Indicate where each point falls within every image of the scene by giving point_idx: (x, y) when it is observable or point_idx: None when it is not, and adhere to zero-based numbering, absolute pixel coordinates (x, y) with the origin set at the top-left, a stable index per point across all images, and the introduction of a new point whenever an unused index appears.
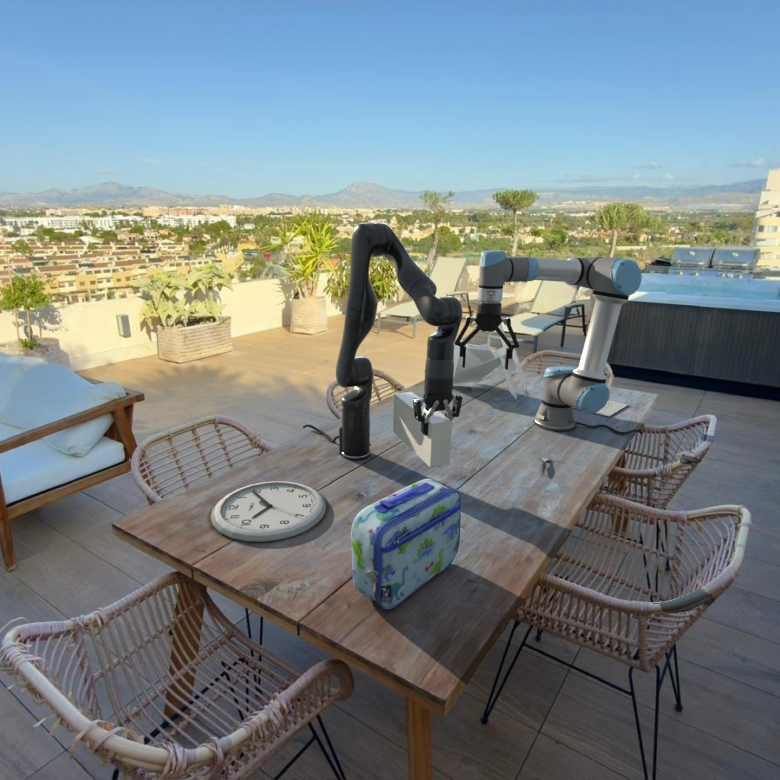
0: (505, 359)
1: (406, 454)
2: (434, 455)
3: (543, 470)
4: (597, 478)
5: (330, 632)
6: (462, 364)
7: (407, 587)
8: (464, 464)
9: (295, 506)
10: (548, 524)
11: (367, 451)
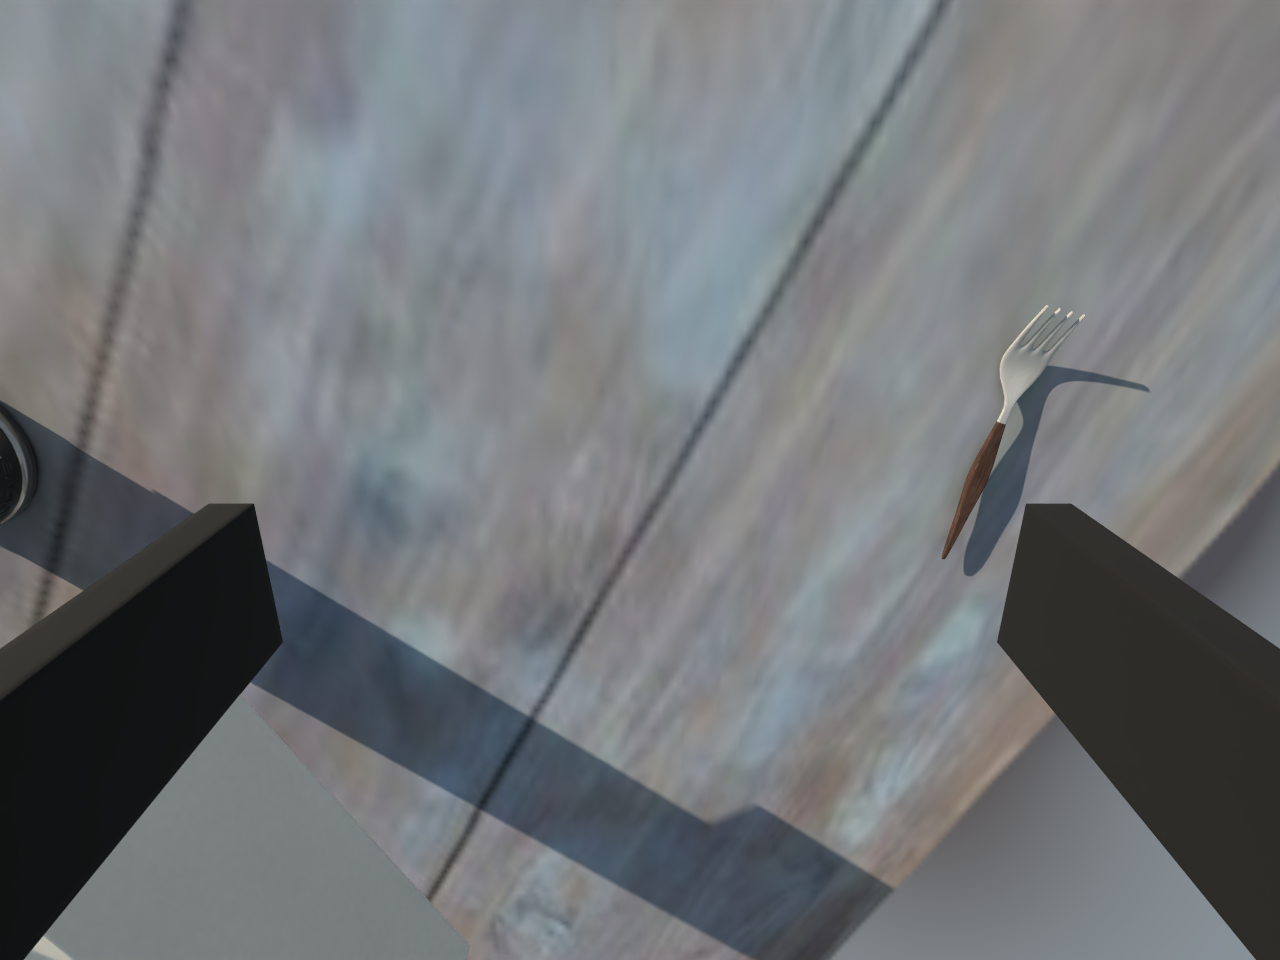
0: (1122, 635)
1: (229, 411)
2: None
3: (957, 532)
4: (1204, 541)
5: None
6: (197, 517)
7: None
8: (559, 487)
9: None
10: (847, 880)
11: (10, 494)
